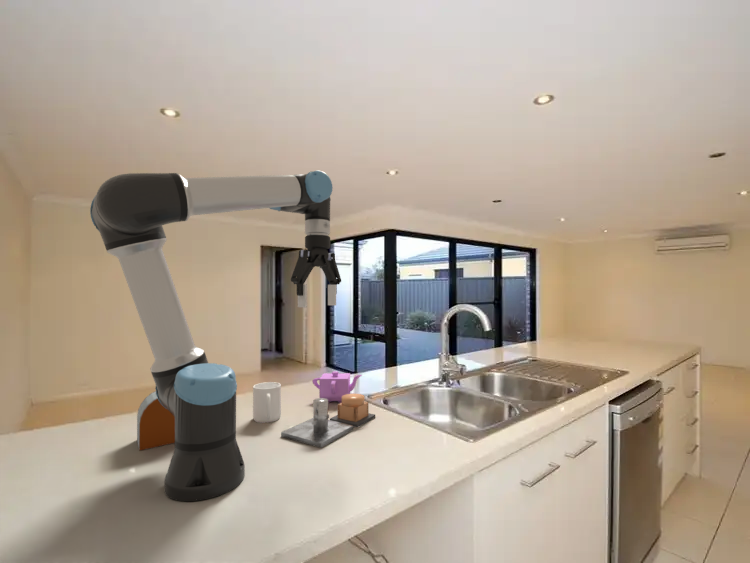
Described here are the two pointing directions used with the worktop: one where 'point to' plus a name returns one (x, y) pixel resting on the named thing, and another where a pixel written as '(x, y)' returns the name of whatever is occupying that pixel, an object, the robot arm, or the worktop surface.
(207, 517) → the worktop surface
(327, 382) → the teapot
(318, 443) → the post fixture
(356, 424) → the pad
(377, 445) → the worktop surface
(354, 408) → the cap
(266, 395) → the cup
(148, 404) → the orange rounded block
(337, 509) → the worktop surface
